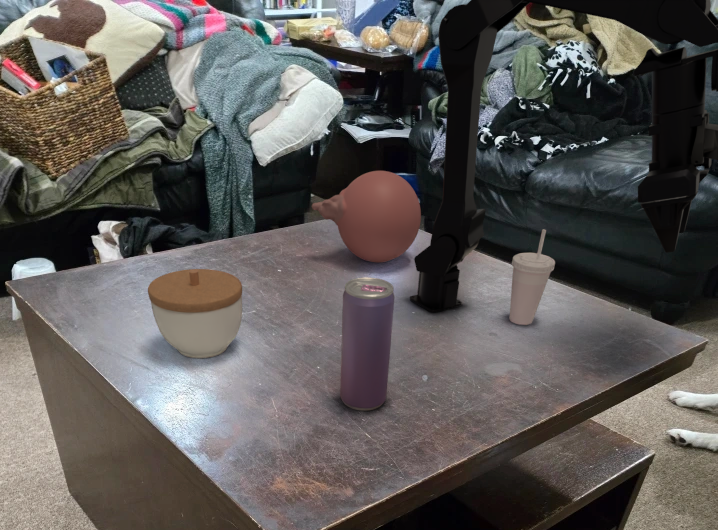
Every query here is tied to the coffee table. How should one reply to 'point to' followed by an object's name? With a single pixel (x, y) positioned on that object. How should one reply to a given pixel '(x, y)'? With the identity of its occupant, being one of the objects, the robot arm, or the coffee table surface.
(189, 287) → the lidded bowl
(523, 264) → the smoothie
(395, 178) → the balloon
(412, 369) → the coffee table surface
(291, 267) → the coffee table surface
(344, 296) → the beverage can
